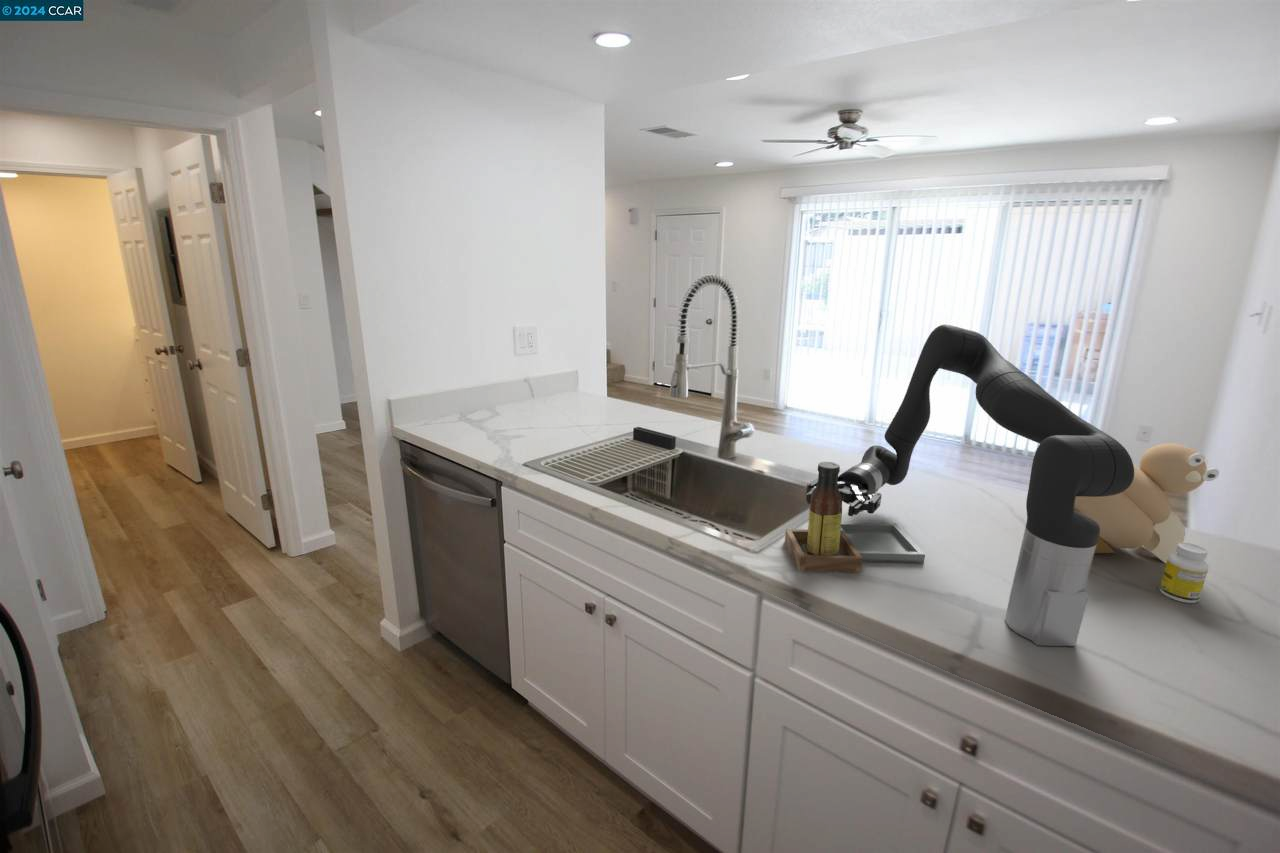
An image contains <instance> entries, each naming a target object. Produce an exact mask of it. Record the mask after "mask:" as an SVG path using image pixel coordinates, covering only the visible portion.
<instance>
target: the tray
mask: <svg viewBox="0 0 1280 853" xmlns="http://www.w3.org/2000/svg"><path fill="white" fill-rule="evenodd" d="M841 530H843V532H844V533H845V534H846V536H847V537H848V539H849V540H850V541H851V543H852V544H853V545H854V547H855V548H856V550H857V551H858V552H859V554H860V555H861V556H862V558H863V562H862V563H889V564H893V563H894V564H895V563H896V564H924V563H925V558H926V554H925V552H923V550H922V549H921V548H920V547H919V546H918V545H917V544H916V543H915V542H914V540H912V539H911V538H910V537H909V536H908V534H906V532H905V531H904V530H903V529H902V528H901V527H900V525H898V524H897V523H895V522H894V523H891V522H890V523H889V522H846V521H845V522H844V521H843V522H842V521H841Z"/></svg>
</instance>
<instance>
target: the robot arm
mask: <svg viewBox="0 0 1280 853" xmlns="http://www.w3.org/2000/svg"><path fill="white" fill-rule="evenodd" d="M940 369H941V370H945V371H949V372H953V373H957V374H959V375H963V376H965V377H967V378H969V379H970V380H971V381H973V382H974V384H976V385H975V398H976V401H977V403H978V405H979V406H980V408H982V410H983V411H984V412H985V413H986V414H987V415H988V416H989V417H990V419H992V420H993V421H994V422H995V423H996V424H998V425H999V426H1001V427H1002V428H1003V429H1005V430H1007V431H1009V432H1011V433H1013V434H1016V435H1018V436H1020V437H1022V438H1025V439H1027V440H1030V441H1032V442H1035V443H1037V444H1038V447H1037V448H1036V451H1035V453H1034V456H1033V459H1032V464H1031V470H1030V478H1029V484H1028V489H1027V490H1028V491H1027V496H1026V503H1025V504H1026V506H1025V507H1026V523H1025V526H1024V527H1025V528H1024V532H1023V535H1022V536H1023V537H1022V541H1021V545H1020V550H1019V554H1018V558H1017V562H1016V567H1015V572H1014V576H1013V579H1012V580H1013V581H1012V586H1011V589H1010V593H1009V598H1008V604H1007V608H1006V613H1005V618H1004V620H1005V623H1006V624H1007V626H1008V627H1009V628H1010V629H1011V630H1013V632H1015V633H1016V634H1018V635H1020V636H1021V637H1023V638H1025V639H1027V640H1030V641H1032V642H1033V643H1034V644H1035V645H1036V646H1047V647H1048V646H1049V647H1051V646H1052V647H1076V644H1077V641H1078V637H1079V634H1080V630H1081V628H1082V627H1081V626H1082V624H1083V623H1082V622H1083V620H1084V619H1083V618H1084V615H1085V611H1086V607H1087V603H1088V600H1089V596H1090V594H1089V593H1088V592H1087V591H1086V590H1085V589H1086V585H1087V582H1088V578H1089V574H1090V570H1091V567H1092V564H1093V560H1094V556H1095V554H1096V553H1095V549H1096V545H1097V542H1098V538H1099V534H1100V527H1099V525H1098V524H1097V523H1096V522H1095V521H1094V520H1093V519H1091V518H1089V517H1088V516H1086V515H1084V514H1081V513H1079V512H1076V511H1074V505H1075V498H1076V496H1086V497H1103V496H1111V495H1116V494H1119V493H1121V492H1123V491H1125V490H1126V489H1127V488H1129V486H1130V485H1131V484H1132V482H1133V479H1134V466H1135V464H1134V462H1133V460H1132V457H1131V455H1130V454H1129V452H1128V451H1127V449H1126V448H1125V447H1124V446H1123V445H1122V444H1121V443H1120V442H1119V441H1118V440H1117V439H1115V438H1114V437H1112V436H1111V435H1109V434H1107V433H1106V432H1104V431H1102V430H1101V429H1099V428H1098V427H1096V426H1094V425H1093V424H1091V423H1089V422H1088V421H1086V420H1084V419H1083V418H1081V417H1080V416H1078V415H1077V414H1076V413H1075V412H1073V411H1071V410H1070V409H1069V408H1067V407H1066V406H1065V405H1064V404H1063V403H1062V402H1060V400H1058V399H1056V398H1055V397H1054V396H1053V395H1051V394H1050V393H1049V392H1047V390H1045V389H1044V388H1043V387H1042V386H1040V385H1039V384H1038V383H1037V382H1036V381H1034V379H1032V378H1031V377H1029V375H1027V374H1026V373H1025V372H1023V371H1021V369H1019V368H1018V367H1017V366H1015V364H1013V363H1012V362H1010V361H1009V360H1007V359H1006V358H1005V357H1003V356H1002V355H1001V353H999V351H998V350H997V349H996V348H995V347H994V346H993V344H992V343H991V342H990V341H989V340H988V338H986V337H985V336H984V335H983V334H981V333H979V332H977V331H974V330H971V329H965V328H962V327H959V326H955V325H951V324H940V325H938V326H937V327H935V328H934V329H933V330H932V331H931V332H930V334H929V336H928V337H927V339H926V341H925V342H924V344H923V347H922V349H921V352H920V354H919V357H918V360H917V363H916V364H915V367H914V370H913V372H912V375H911V378H910V381H909V384H908V386H907V388H906V392H905V394H904V397H903V398H902V402H901V404H900V405H899V408H898V409H897V412H896V413H895V415H894V417H893V418H892V420H891V422H890V423H889V425H888V427H887V429H886V431H885V433H884V436H883V437H884V439H885V441H886V442H887V444H889V446H890V447H891V448H892V449H893V450H894V451H895V453H894V452H892V451H891V450H890V449H887V448H886V447H884V446H882V445H876V444H875V445H872V446H870V447H868V448H867V450H865V452H864V454H863V456H862V459H861V461H860V462H859V463H858V464H855V465H853V466H852V467H850V468H848V469H847V470H845V471H844V472H842V473H841V474H839V475H838V490H839V493H840V495H841V497H842V503H843V502H844V503H845V504H847V505H849V506H848V511H847V516H849V517H853V516H856V515H858V514H860V513H863V512H864V511H866V513H867V514H869V515H870V514H875V512H877V510H878V508H880V507H881V503H882V493H880V492H878V491H879V490H880V489H881V488H882V487H883V486H885V485H886V484H887V485H890V486H896V485H898V484H900V483H902V482H903V481H904V480H905V479H906V477H907V474H908V473H909V472H908V471H909V469H910V468H909V467H910V462H911V458H912V455H913V453H914V452H913V451H914V449H915V447H916V445H917V443H918V441H919V440H920V438H921V437H922V434H923V433H924V431H925V430H926V428H927V426H928V424H929V421H930V418H931V398H930V390H931V385H932V381H933V379H934V377H935V375H936V373H937V372H938V371H939V370H940ZM817 482H818V478H815V479H814V480H812V481H810V482H808V483H807V484H806V493H805V495H806V500H805V501H806V504H808V505H810V502H811V493H812V491H813V490H814V489H815V488H816V486H817Z"/></svg>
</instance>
